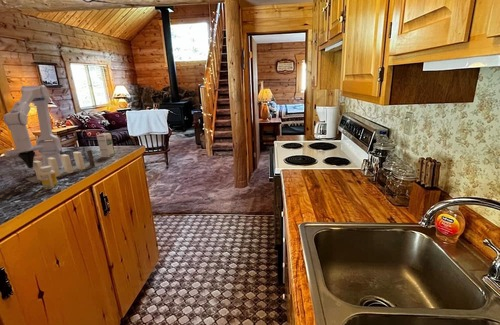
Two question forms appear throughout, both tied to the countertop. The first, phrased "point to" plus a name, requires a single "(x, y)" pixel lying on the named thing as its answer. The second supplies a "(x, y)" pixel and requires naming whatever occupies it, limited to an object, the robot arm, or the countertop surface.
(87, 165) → the mat
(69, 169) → the domino
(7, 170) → the countertop surface
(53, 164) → the domino
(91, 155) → the domino
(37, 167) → the domino
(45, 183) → the supplement bottle
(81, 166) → the domino
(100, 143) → the syrup box
